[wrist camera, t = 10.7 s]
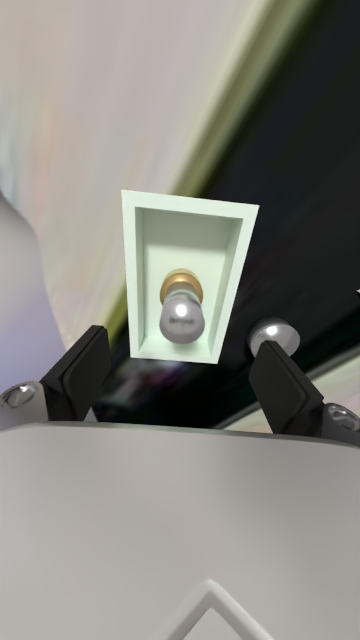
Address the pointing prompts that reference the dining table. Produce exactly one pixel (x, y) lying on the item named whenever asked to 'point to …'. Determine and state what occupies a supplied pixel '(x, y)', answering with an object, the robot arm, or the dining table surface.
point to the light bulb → (181, 307)
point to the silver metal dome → (272, 334)
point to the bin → (182, 266)
